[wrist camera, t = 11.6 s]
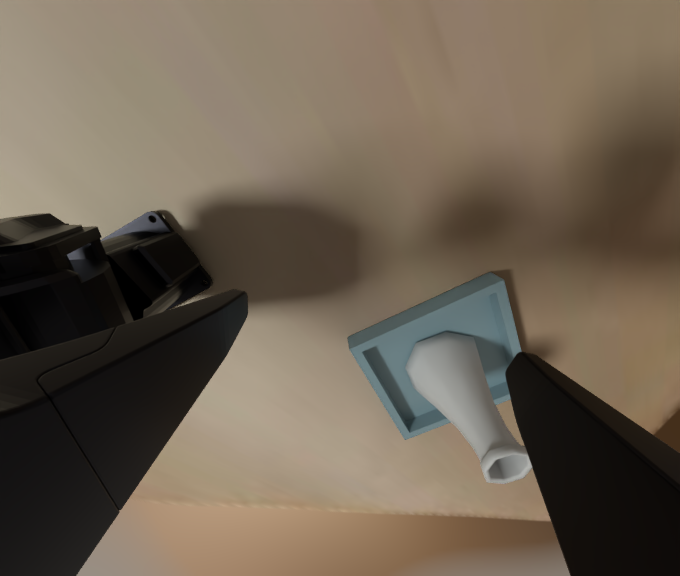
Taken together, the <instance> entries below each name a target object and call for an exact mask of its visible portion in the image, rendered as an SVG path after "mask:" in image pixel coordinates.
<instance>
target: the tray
mask: <svg viewBox="0 0 680 576" xmlns="http://www.w3.org/2000/svg"><path fill="white" fill-rule="evenodd" d="M444 332H449V333H454V334H459V335H465V336H470V337H474V340H475V343H476V346H477V350H478V353H479V357H480V360H481V364H482V367H483V371H484V374H485V377H486V380H487V383H488V386H489V389H490V392H491V395H492V398H493V401H494V403H495V405H497V404H500V403H502V402H505V401H507V400H510V399H511V398H510V394H509V390H508V386H507V382H506V377H505V372H506V369H507V367H508V366H509V364H510V363H511V361H512V360H513V358H514V357H515V356H516V354H517V353H519V352H522V351H521V347H520V343H519V339H518V335H517V331H516V327H515V323H514V319H513V315H512V311H511V307H510V303H509V299H508V294H507V290H506V286H505V282H504V280H503V279H502V278H500V277H498V276H497V275H495V274H493V273H491V272H489V273H486V274H484V275H482V276H480V277H478V278H476V279H473V280H471V281H469V282H467V283H465V284H462V285H460V286H458V287H456V288H454V289H452V290H449V291H447V292H445V293H443V294H441V295H438V296H436V297H434V298H432V299H430V300H428V301H425V302H423V303H421V304H419V305H417V306H414V307H412V308H410V309H408V310H406V311H404V312H401V313H399V314H397V315H395V316H393V317H390V318H388V319H386V320H384V321H382V322H380V323H377V324H375V325H373V326H371V327H369V328H366V329H364V330H362V331H360V332H358V333H355V334H353V335H351V336H349V337H348V344H349V350H350V351H351V353H352V354H353V356H354V358H355V359H356V361H357V363H358V364H359V366H360V367H361V369H362V371H363V372H364V374H365V376H366V377H367V379H368V380H369V382H370V384H371V385H372V387H373V389H374V390H375V392H376V394H377V395H378V397H379V398H380V400H381V402H382V403H383V405H384V407H385V408H386V410H387V411H388V413H389V415H390V416H391V418H392V420H393V421H394V423H395V424H396V426H397V428H398V429H399V431H400V433H401V434H402V436H403V438H404V439H405V440H406V439H409V438H412V437H414V436H417V435H419V434H422V433H425V432H427V431H430V430H432V429H435V428H437V427H440V426H443V425H445V424H448V423H450V421H449V420H448V419H447V418H446V417H445V416H444V415H443V414H442V413H441V412H440V411H439V410H438V409H437V408H436V407H435V406H434V405H432V404H431V403H430V402H429V401H428V400H427V399H426V398H424V397H423V396H422V395H421V394H420V393H419V392H418V391H417V390H416V389H414V388H413V385H412V383H411V381H410V378H409V376H408V373H407V371H406V368H405V366H406V364H407V362H408V359H409V357H410V355H411V353H412V350H413V348H414V346H415V343H417V342H420V341H423V340H425V339H428V338H431V337H433V336H436V335H439V334H441V333H444Z"/></svg>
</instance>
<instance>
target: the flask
mask: <svg viewBox="0 0 680 576" xmlns="http://www.w3.org/2000/svg"><path fill="white" fill-rule="evenodd" d="M405 368H406V371H407V373H408V376H409V378H410V381H411V383H412V385H413V388H414V389H416V390H417V391H418V392H419V393H420V394H421V395H422V396H423V397H424V398H426V399H427V400H428V401H429V402H430V403H431V404H432V405H434V406H435V407H436V408H437V409H438V410H439V411H440V412H441V413H442V414H443V415H444V416H445V417H446V418H447V419H448V420H449V421H450V422H451V423H453V424H454V425H455V426H456V427H457V428H458V429H459V431H460V432H461V433H462V435H463V436H464V437H465V438H466V440H467V441H468V442H469V444H470V445H471V446H472V447H473V449H474V451H475V452H476V454H477V456H478V458H479V459H480V461H481V462H480V465H481V468H482V471H483V474H484V477H485V480H486V481H487V482H488V483H500V484H506V483H509V482H512V481H516V480H519V479H522V478H524V477H525V476H526V475H527V474H528V472H529V471H530V470H531V469H532V465H531V462H530V460H529V457H528V454H527V451H526V448H525V446H521V445H520V444H519V443H518V442H517V441H516V439H515V438H514V437H513V435H512V434H511V432H510V431H509V430H508V428H507V427H506V425H505V423H504V421H503V419H502V417H501V415H500V413H499V411H498V409H497V407H496V405H495V403H494V401H493V398H492V395H491V392H490V389H489V386H488V383H487V380H486V377H485V374H484V371H483V367H482V364H481V360H480V357H479V353H478V350H477V346H476V343H475V340H474V337H470V336H465V335H459V334H454V333H449V332H444V333H441V334H439V335H436V336H433V337H431V338H428V339H425V340H423V341H420V342H417V343H415V346H414V348H413V350H412V353H411V355H410V357H409V359H408V362H407V364H406V366H405Z"/></svg>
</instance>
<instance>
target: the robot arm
mask: <svg viewBox="0 0 680 576" xmlns="http://www.w3.org/2000/svg"><path fill="white" fill-rule="evenodd" d="M152 216H154V217H155V218H156V222H155V221H154V220H153V219H152ZM100 238H101V234H100V232H99V230H98V227H82V225H69V224H65V223H64V222H62V221H60V220H59V219H57V218H56V217H54V216H53V215H51V214H49V213H47V214H32V215H25V216H18V217H11V218H4V219H0V576H76V575H77V574H78V572H79V571H80V569H81V568H82V566H83V565H84V563H85V562H86V561H87V559H88V557H89V556H90V555H91V553H92V552H93V550H94V549H95V547H96V545H97V544H98V543H99V541H100V540H101V539H102V537H103V536H104V534H105V533H106V531H107V530H108V528H109V527H110V525H111V524H112V523H113V521H114V520H115V518H116V517H117V515H118V514H119V510H121V509H122V508H123V506H124V505H125V503H126V502H127V500H128V499H129V497H130V496H131V494H132V493H133V492H134V490H135V489H136V487H137V486H138V484H139V483H140V481H141V480H142V478H143V477H144V475H145V474H146V473H147V471H148V470H149V468H150V467H151V465H152V464H153V462H154V461H155V459H156V458H157V457H158V455H159V454H160V452H161V451H162V449H163V448H164V446H165V445H166V443H167V442H168V440H169V439H170V438H171V436H172V435H173V433H174V432H175V430H176V429H177V427H178V426H179V424H180V423H181V422H182V420H183V419H184V417H185V416H186V414H187V413H188V411H189V410H190V408H191V407H192V405H193V404H194V403H195V401H196V400H197V398H198V397H199V395H200V394H201V392H202V391H203V389H204V388H205V386H206V385H207V384H208V382H209V381H210V379H211V378H212V376H213V375H214V373H215V372H216V370H217V369H218V368H219V366H220V365H221V363H222V362H223V360H224V359H225V357H226V356H227V354H228V352H229V350H230V348H231V347H232V345H233V343H234V341H235V339H236V337H237V335H238V333H239V331H240V330H241V328H242V326H243V324H244V322H245V320H246V318H247V315H248V296H247V293H246V292H245V291H241V290H236V289H233V290H230V291H227V292H224V293H221V294H218V295H214V296H211V297H208V298H205V299H202V300H199V301H196V302H192V303H189V304H186V305H183V306H180V307H177V308H174V309H170V308H172V307H174V306H176V305H178V304H180V303H181V302H183V301H185V300H187V299H189V298H191V297H193V296H195V295H197V294H198V293H200V292H202V291H204V290H206V289H208V288H209V287H210V286H211V285H212V284H213V280H212V278H211V277H210V276H209V275H208V273H207V272H206V271H205V270H204V268H203V267H202V266H201V265H200V261H199V260H198V258H197V257H196V256H195V255H194V253H193V252H192V251H191V249H190V248H189V247H188V246H187V244H186V243H185V242H184V241H183V239H182V238H181V237H180V235H179V234H178V233H175V232H174V230H173V229H172V228H171V227H170V225H169V224H168V223H167V221H166V220H165V219H164V218H163V216H162V215H161V214H160V213H159V212H157V211H151V212H147V213H145V214H144V215H142V216H140V217H139V218H137V219H135V220H134V221H132V222H130V223H129V224H127V225H125V226H124V227H122V228H120V229H119V230H117V231H115V232H114V233H112V234H110V235H109V236H107V237H105V238H104V239H102V240H100ZM203 280H205V281H207V283H208V284H205V283H204V282H203ZM168 309H170V310H168ZM166 310H167V311H166ZM505 377H506V382H507V386H508V390H509V394H510V398H511V402H512V406H513V410H514V415H515V418H516V422H517V425H518V428H519V431H520V434H521V437H522V440H523V443H524V445H525V448H526V451H527V454H528V457H529V460H530V462H531V465H532V468H533V471H534V474H535V477H536V479H537V482H538V485H539V488H540V491H541V494H542V496H543V499H544V502H545V505H546V508H547V511H548V513H549V516H550V519H551V522H552V524H553V527H554V530H555V533H556V536H557V539H558V542H559V544H560V547H561V550H562V553H563V556H564V558H565V561H566V564H567V567H568V570H569V573H570V575H571V576H680V453H678V452H677V451H676V450H674V449H673V448H671V447H670V446H668V445H667V444H666V443H664V442H663V441H661V440H660V439H658V438H657V437H655V436H654V435H652V434H651V433H649V432H648V431H646V430H645V429H644V428H642V427H641V426H639V425H638V424H636V423H635V422H633V421H632V420H630V419H629V418H627V417H626V416H624V415H623V414H622V413H620V412H619V411H617V410H616V409H614V408H613V407H611V406H610V405H608V404H607V403H605V402H604V401H602V400H601V399H600V398H598V397H597V396H595V395H594V394H592V393H591V392H589V391H588V390H586V389H585V388H583V387H582V386H580V385H579V384H578V383H576V382H575V381H573V380H572V379H570V378H569V377H567V376H566V375H564V374H563V373H561V372H560V371H558V370H557V369H555V368H554V367H553V366H551V365H550V364H548V363H547V362H545V361H544V360H542V359H541V358H539V357H538V356H536V355H534V354H531V353H526V352H519V353H517V354H516V356H515V357H514V358H513V360H512V361H511V363H510V364H509V366H508V367H507V369H506V372H505Z"/></svg>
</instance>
